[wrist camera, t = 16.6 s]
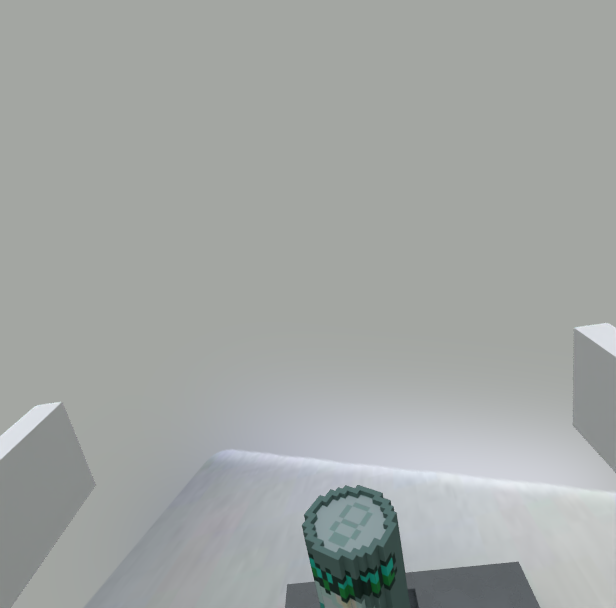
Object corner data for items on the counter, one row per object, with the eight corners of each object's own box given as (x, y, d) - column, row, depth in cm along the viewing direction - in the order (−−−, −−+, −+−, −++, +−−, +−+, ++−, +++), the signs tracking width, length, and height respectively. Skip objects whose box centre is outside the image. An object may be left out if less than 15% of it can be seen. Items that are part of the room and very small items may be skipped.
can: (323, 687, 34) (286, 536, 29) (361, 617, 38) (334, 477, 34) (397, 736, 30) (367, 573, 26) (429, 653, 35) (409, 501, 30)
